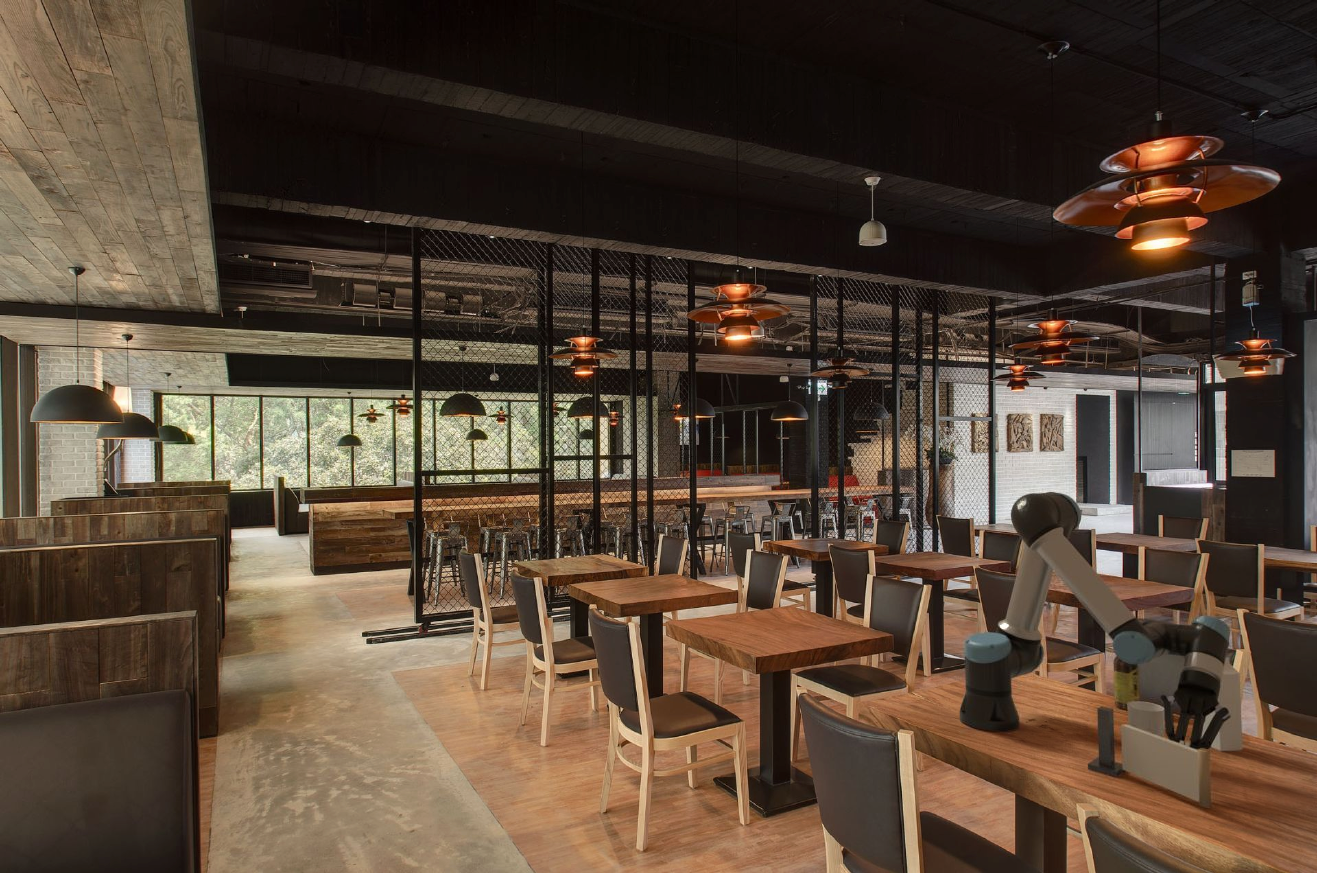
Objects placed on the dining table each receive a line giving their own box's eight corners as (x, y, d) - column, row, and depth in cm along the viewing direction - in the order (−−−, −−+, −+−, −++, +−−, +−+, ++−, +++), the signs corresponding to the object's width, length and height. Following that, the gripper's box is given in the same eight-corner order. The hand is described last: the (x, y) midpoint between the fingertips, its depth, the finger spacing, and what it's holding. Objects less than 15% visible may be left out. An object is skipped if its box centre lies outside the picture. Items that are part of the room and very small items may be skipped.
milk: (1200, 742, 188) (1196, 655, 189) (1222, 741, 189) (1218, 654, 190) (1221, 751, 182) (1217, 661, 183) (1243, 750, 183) (1239, 660, 184)
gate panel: (1121, 771, 168) (1120, 722, 169) (1128, 770, 169) (1126, 721, 169) (1206, 808, 150) (1204, 753, 151) (1213, 806, 151) (1211, 752, 151)
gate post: (1088, 769, 172) (1086, 708, 173) (1098, 762, 176) (1096, 702, 177) (1116, 777, 168) (1114, 714, 168) (1126, 770, 171) (1124, 709, 172)
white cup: (1172, 753, 181) (1170, 712, 181) (1136, 751, 183) (1135, 710, 183) (1157, 741, 189) (1155, 702, 189) (1123, 739, 190) (1121, 700, 191)
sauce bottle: (1140, 712, 210) (1137, 642, 211) (1114, 709, 214) (1112, 639, 215) (1139, 706, 216) (1137, 637, 217) (1114, 702, 219) (1112, 635, 220)
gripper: (1240, 694, 166) (1222, 791, 155) (1170, 681, 177) (1149, 771, 165) (1233, 674, 163) (1214, 772, 152) (1162, 662, 173) (1140, 753, 162)
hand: (1180, 771), depth 159 cm, fingers closed
